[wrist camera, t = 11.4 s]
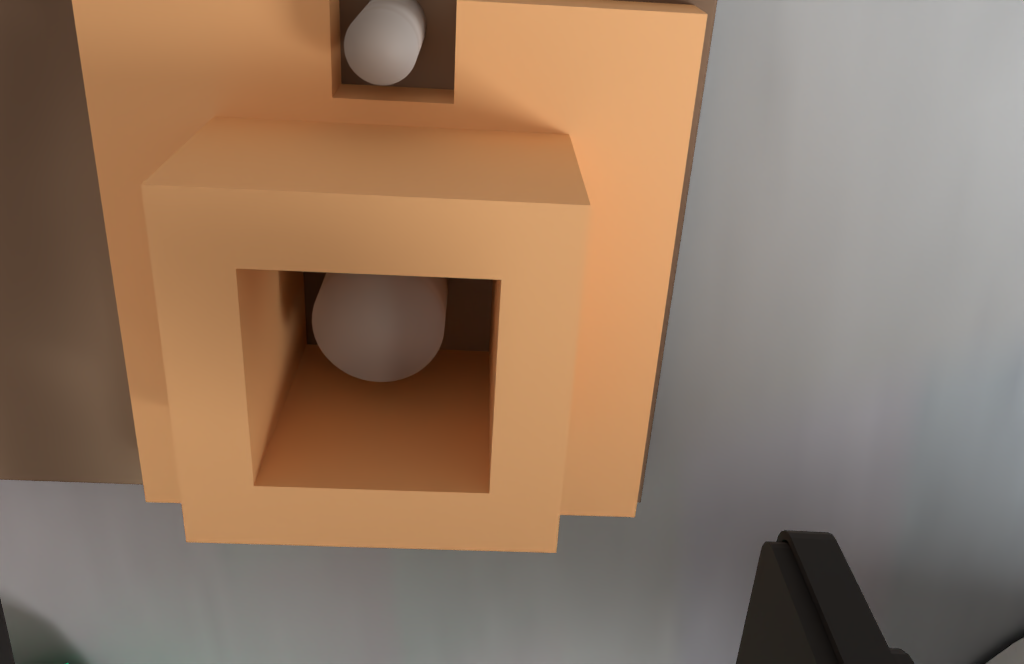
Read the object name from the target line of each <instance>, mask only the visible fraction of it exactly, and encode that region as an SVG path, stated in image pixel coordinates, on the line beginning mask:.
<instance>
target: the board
mask: <svg viewBox="0 0 1024 664" xmlns="http://www.w3.org/2000/svg"><path fill="white" fill-rule="evenodd" d="M616 1H633V2H651V3H669V4H686V5H695V6H696V7H698V8H699V9H701V10H702V11H704V12H705V13H706V14H708V15H707V22H706V29H705V36H704V43H703V50H702V57H701V64H700V71H699V77H698V84H697V91H696V98H695V105H694V112H693V119H692V126H691V133H690V140H689V147H688V154H687V161H686V167H685V174H684V181H683V188H682V195H681V202H680V209H679V216H678V223H677V230H676V237H675V244H674V251H673V258H672V264H671V271H670V278H669V285H668V292H667V299H666V306H665V313H664V320H663V327H662V334H661V341H660V348H659V354H658V361H657V368H656V375H655V382H654V389H653V396H652V403H651V410H650V417H649V424H648V431H647V438H646V444H645V451H644V458H643V465H642V472H641V479H640V486H639V493H638V500H637V502H641V496H642V489H643V483H644V476H645V470H646V463H647V457H648V450H649V443H650V437H651V430H652V424H653V417H654V411H655V404H656V398H657V391H658V385H659V378H660V372H661V365H662V358H663V352H664V345H665V339H666V332H667V326H668V319H669V313H670V306H671V300H672V293H673V286H674V280H675V273H676V267H677V260H678V254H679V247H680V241H681V234H682V228H683V221H684V215H685V208H686V201H687V195H688V188H689V182H690V175H691V169H692V162H693V156H694V149H695V143H696V136H697V130H698V123H699V116H700V110H701V103H702V97H703V90H704V84H705V77H706V71H707V64H708V58H709V51H710V45H711V38H712V31H713V25H714V18H715V12H716V5H717V0H616ZM339 8H340V48H341V84H355V85H374V86H393V87H413V88H432V89H451V90H454V81H455V46H456V11H457V0H339ZM303 276H304V296H305V317H306V338H307V344H310V345H318V346H319V347H320V349H321V351H322V352H323V353H324V355H325V356H326V357H327V358H328V359H329V360H330V361H331V363H332V364H334V365H335V366H336V367H338V368H339V369H340V370H342V371H344V372H345V373H347V374H349V375H351V376H353V377H356V378H359V379H363V380H367V381H374V382H390V381H396V380H400V379H404V378H407V377H409V376H411V375H413V374H415V373H417V372H419V371H420V370H422V369H423V368H424V367H425V366H426V365H428V364H429V363H430V362H431V360H432V359H433V358H434V357H435V355H436V354H437V352H438V350H464V351H489V340H490V320H491V301H492V282H493V279H470V278H446V277H423V276H399V275H376V274H353V273H329V272H306V271H303ZM0 479H4V480H32V481H60V482H88V483H116V484H143V479H142V472H141V466H140V459H139V452H138V445H137V438H136V432H135V425H134V418H133V411H132V405H131V398H130V391H129V384H128V378H127V371H126V364H125V357H124V351H123V344H122V337H121V330H120V324H119V317H118V310H117V303H116V297H115V290H114V283H113V276H112V269H111V263H110V256H109V249H108V242H107V236H106V229H105V222H104V215H103V209H102V202H101V195H100V188H99V182H98V175H97V168H96V161H95V155H94V148H93V141H92V134H91V128H90V121H89V114H88V107H87V100H86V94H85V87H84V80H83V73H82V67H81V60H80V53H79V46H78V40H77V33H76V26H75V19H74V13H73V6H72V0H0Z"/></svg>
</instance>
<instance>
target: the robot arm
mask: <svg viewBox="0 0 1024 664" xmlns="http://www.w3.org/2000/svg"><path fill="white" fill-rule="evenodd" d="M0 664H15V662H14V657H13V653H12V648H11V644H10V640H9V635H8V631H7V626H6V622H5V617H4V613H3V608H2V604H1V599H0ZM736 664H914V662H913V661H912V659H911V658H910V656H909V655H908V654H907V653H905V652H904V651H903V650H901V649H892V648H889V647H888V645H887V643H886V641H885V639H884V637H883V635H882V633H881V631H880V629H879V627H878V625H877V623H876V621H875V619H874V617H873V615H872V613H871V610H870V608H869V606H868V604H867V602H866V600H865V598H864V596H863V594H862V592H861V590H860V588H859V586H858V584H857V582H856V580H855V578H854V576H853V574H852V572H851V570H850V568H849V566H848V563H847V561H846V559H845V557H844V555H843V553H842V551H841V549H840V547H839V545H838V543H837V541H836V539H835V538H834V536H833V535H832V534H830V533H826V532H807V531H789V530H784V531H782V532H781V533H780V534H779V536H778V538H777V541H776V542H765V543H764V544H763V546H762V549H761V553H760V558H759V562H758V567H757V571H756V576H755V580H754V585H753V589H752V594H751V598H750V603H749V607H748V612H747V616H746V621H745V625H744V630H743V634H742V639H741V643H740V648H739V652H738V657H737V662H736ZM985 664H1024V637H1023V638H1022V639H1020V640H1018V641H1016V642H1014V643H1013V644H1012V645H1010V646H1009V647H1007V648H1006V649H1005V650H1003V651H1002V652H1001V653H999V654H998V655H996V656H995V657H994V658H992V659H991V660H990V661H988V662H987V663H985Z"/></svg>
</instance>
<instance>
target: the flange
mask: <svg viewBox="0 0 1024 664" xmlns="http://www.w3.org/2000/svg"><path fill="white" fill-rule="evenodd" d="M72 6H73V13H74V19H75V26H76V33H77V40H78V46H79V53H80V60H81V67H82V73H83V80H84V87H85V94H86V100H87V107H88V114H89V121H90V128H91V134H92V141H93V148H94V155H95V161H96V168H97V175H98V182H99V188H100V195H101V202H102V209H103V215H104V222H105V229H106V236H107V242H108V249H109V256H110V263H111V269H112V276H113V283H114V290H115V297H116V303H117V310H118V317H119V324H120V330H121V337H122V344H123V351H124V357H125V364H126V371H127V378H128V384H129V391H130V398H131V405H132V411H133V418H134V425H135V432H136V438H137V445H138V452H139V459H140V466H141V472H142V479H143V486H144V493H145V499H146V502H161V503H181V504H182V512H183V520H184V528H185V535H186V542H198V543H232V544H267V545H301V546H336V547H370V548H405V549H439V550H474V551H508V552H543V553H556V550H557V540H558V530H559V520H560V515H581V516H614V517H635V514H636V507H637V500H638V493H639V486H640V479H641V472H642V465H643V458H644V451H645V444H646V438H647V431H648V424H649V417H650V410H651V403H652V396H653V389H654V382H655V375H656V368H657V361H658V354H659V348H660V341H661V334H662V327H663V320H664V313H665V306H666V299H667V292H668V285H669V278H670V271H671V264H672V258H673V251H674V244H675V237H676V230H677V223H678V216H679V209H680V202H681V195H682V188H683V181H684V174H685V167H686V161H687V154H688V147H689V140H690V133H691V126H692V119H693V112H694V105H695V98H696V91H697V84H698V77H699V71H700V64H701V57H702V50H703V43H704V36H705V29H706V22H707V15H708V14H706V13H705V12H704V11H702V10H701V9H699V8H698V7H696V6H695V5H686V4H669V3H651V2H633V1H616V0H457V11H456V46H455V81H454V90H451V89H432V88H413V87H393V86H374V85H355V84H341V48H340V8H339V0H72ZM303 271H306V272H329V273H353V274H376V275H399V276H423V277H446V278H470V279H493V282H492V301H491V320H490V340H489V351H464V350H438V352H437V354H436V355H435V357H434V358H433V359H432V360H431V362H430V363H429V364H428V365H426V366H425V367H424V368H423V369H422V370H420V371H419V372H417V373H415V374H413V375H411V376H409V377H407V378H404V379H400V380H396V381H390V382H374V381H367V380H363V379H359V378H356V377H353V376H351V375H349V374H347V373H345V372H344V371H342V370H340V369H339V368H338V367H336V366H335V365H334V364H332V363H331V361H330V360H329V359H328V358H327V357H326V356H325V355H324V353H323V352H322V351H321V349H320V347H319V346H318V345H310V344H307V338H306V317H305V296H304V276H303Z"/></svg>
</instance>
